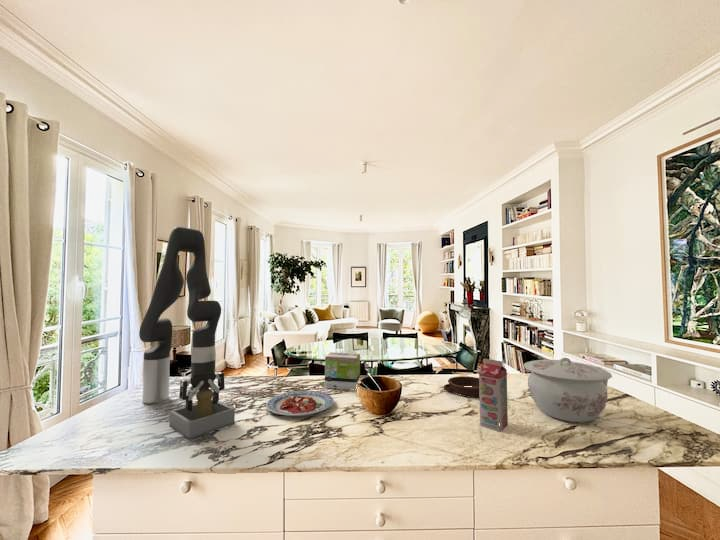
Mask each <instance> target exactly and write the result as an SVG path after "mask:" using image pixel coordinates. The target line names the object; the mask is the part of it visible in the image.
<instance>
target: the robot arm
mask: <svg viewBox="0 0 720 540" xmlns="http://www.w3.org/2000/svg"><path fill="white" fill-rule="evenodd" d="M205 244H206V243H205V237H204V234H203V232H202V231H200V230H198V229H194V228H189V227H188V228H187V227H184V226H175V227H173V228H172V229H171V232H170V234H169V238H168V241H167V246H166V250H165V254H164V259H163V263H162V265H161V269H160V272H159V275H158V277H157V280H156V283H155V286H154V290H153V293H152V297H151V300H150V303H149V305H148V307H147V310H146V313H145V315H144V317H143V320H142V322H141V324H140V327H139V333H138V336H139V340H140V341H141V342H142V343H155V342H157V343H156V344H155V345H154V346H153V347H152V348H149V349H147V350H146V351H145V352H143V373H142V374H143V377H142V403H143V404H156V403H160V402H161V403H163V402H164V401H166V400H168V399H169V396H170V371H171V370H170V367H171V366H170V365H171V363H170V362H171V350H172V340H173V324H172V321H171V320H170V318H160V317H161V316H162V315H163V313H165V311H167V310H168V309H169V308H170V307H171V306H172V305H173V304H175V303H176V301H177V300H178V299H179V297H180V296H181V293H182V291H183V287H184V285H185V281H186V286H187V290H188V304H187V309H186V315H187V318H188V319H189V320H190V321H191V322H194V323H198V322H199V323H200V322H206V323H205V325H204V326H202V327H200V328H196V329H195V330H193V331H192V346H191V354H190V355H191V357H190V358H191V360H190V361H191V362H190V378H189V379H181V380H180V383H179V384H180V385H179V394H178V395H179V397H178V398H179V399H180V400H182V401H185V406H186V410H187V411H189V412H191V411H192V403H193V398H194V396H195V395H196V394H197V392H198V391H201V390H203V389H211V390H212V391H213V396H212V399H213V401H212V402H213V404H217V402H218V401H219V400H220V392H221V391H223V390H225V389H226V387H225V385H226V384H225V373H224V372H221V371H218V372H217V373H216V357H217V356H216V355H217V354H216V331H217V328H218V324H219V321H220V318H221V314H222V306H221V304H220V302H219V301H218V300H205V299H206V298H208V297H210V295H211V292H212V290H211V285H210V281H209V277H208V274H207V273H208V272H207V265H206V263H207V261H206V245H205ZM180 252H182V253H183V252H184V253H188V254H189V253H191V254H193V257H194V259H193V262H192V264H191V265H190V267H189V268H188V270H187V272H186V280H184V276H183V274H182V272H181V268H180V266H179V262H178V257H179V253H180ZM203 299H204V300H203ZM216 380H217V385H216V383H214V381H216ZM190 384H191V386H190ZM189 386H190V388H189V389H188V387H189ZM219 402H220V401H219Z"/></svg>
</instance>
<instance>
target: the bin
mask: <svg viewBox="0 0 720 540" xmlns="http://www.w3.org/2000/svg"><path fill="white" fill-rule="evenodd" d="M212 401H213V398H211V403H212V411H213V415H209V416H206V417H203V418H200V419H197V420H195V416H196V409H197V404H194V405H192V411H191V412H189V411H187V410H186V407H184V406H182V407H183V408H182V407H180V408H177V409H172V410H170V411H169V425H168V426H169V427H170V428H171V429H172V430H174V431H176V432H177V433H179V434H180V435H182V436H183V437H184V438H186V439H187V440H192V439H195V438H199V437H200V436H203V435H206V434H209V433H212V432H215V431H218V430H220V429H223V428H226V427H229V426H232V425H234V424H235V414H236V413H235V412H236V410H235V407H233V406H230V405H228V404H226V403H223V402H221V401H218V402H217V404H213V402H212ZM231 424H232V425H231Z"/></svg>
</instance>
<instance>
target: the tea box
mask: <svg viewBox="0 0 720 540" xmlns="http://www.w3.org/2000/svg"><path fill="white" fill-rule="evenodd" d="M324 359H325V360H324V388H325V389H335V388H336V389H337V390H338V389H339V390H346V389H354V390H353V391H356V390H357V389H356V384H357V382H358V381H359V378H360V379H361V354H360V353H351V352H350V353H348V352H346V353H345V352H329V353H328V354H327V355H326V356H324ZM336 389H335V390H336ZM355 389H356V390H355Z"/></svg>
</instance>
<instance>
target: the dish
mask: <svg viewBox="0 0 720 540" xmlns="http://www.w3.org/2000/svg"><path fill="white" fill-rule="evenodd" d="M447 382H448V383H447V384H444V385H443V390H444V391H446V392H451V393H454V394H456V393H457V394H456V395H458V394H461V395H465V396H464V397H466V396H479V377H474V376H467V375H466V376H462V375H461V376H453V377H449V378H448V379H447ZM464 386H472V387H464ZM461 395H460V396H461Z"/></svg>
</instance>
